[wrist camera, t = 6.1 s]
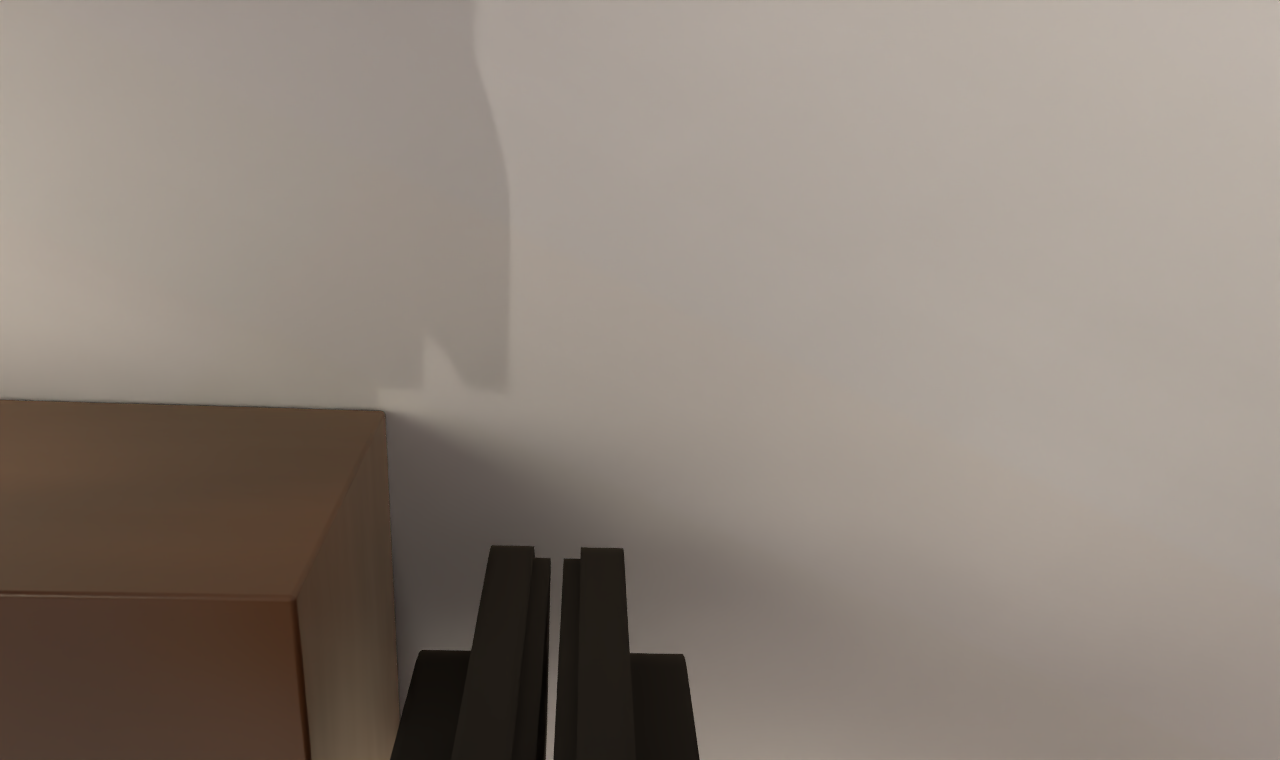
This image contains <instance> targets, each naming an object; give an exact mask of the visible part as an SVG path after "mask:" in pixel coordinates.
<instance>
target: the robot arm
mask: <svg viewBox="0 0 1280 760" xmlns="http://www.w3.org/2000/svg"><path fill="white" fill-rule="evenodd" d="M550 575H551V558H535V549H534V546H496V545H492V546H491V548H490V552H489V557H488V563H487V568H486V573H485V579H484V584H483V590H482V595H481V600H480V606H479V611H478V616H477V622H476V627H475V633H474V638H473V643H472V649H471V651H450V650H421V651H420V653H419V654H418V657H417V660H416V664H415V667H414V671H413V675H412V679H411V682H410V686H409V690H408V694H407V697H406V701H405V705H404V709H403V712H402V716H401V720H400V724H399V728H398V731H397V735H396V739H395V743H394V746H393V750H392V754H391V758H390V760H546V739H547V703H548V660H549V618H550ZM554 760H700V759H699V752H698V745H697V738H696V731H695V723H694V716H693V709H692V702H691V695H690V688H689V681H688V674H687V667H686V662H685V657H684V655H683V654H647V653H630V651H629V633H628V616H627V598H626V581H625V564H624V549H623V548H587V547H581V559H565V558H564V563H563V583H562V603H561V622H560V642H559V662H558V682H557V701H556V721H555V741H554Z"/></svg>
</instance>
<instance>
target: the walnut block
mask: <svg viewBox="0 0 1280 760" xmlns="http://www.w3.org/2000/svg"><path fill="white" fill-rule="evenodd" d="M399 724H400V709H399V689H398V668H397V648H396V627H395V606H394V586H393V565H392V544H391V524H390V503H389V482H388V462H387V441H386V420H385V413H384V412H383V411H363V410H329V409H294V408H260V407H226V406H191V405H157V404H122V403H88V402H53V401H19V400H0V760H390V758H391V754H392V750H393V746H394V743H395V739H396V735H397V731H398V728H399Z"/></svg>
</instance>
